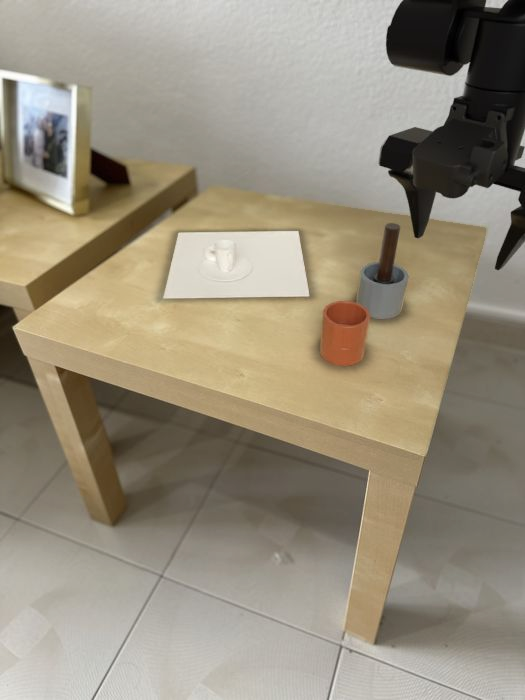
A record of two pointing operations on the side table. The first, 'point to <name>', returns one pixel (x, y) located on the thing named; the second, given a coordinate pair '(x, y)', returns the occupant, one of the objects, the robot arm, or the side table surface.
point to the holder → (344, 332)
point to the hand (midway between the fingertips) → (456, 252)
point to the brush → (387, 254)
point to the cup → (382, 292)
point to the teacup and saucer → (237, 265)
